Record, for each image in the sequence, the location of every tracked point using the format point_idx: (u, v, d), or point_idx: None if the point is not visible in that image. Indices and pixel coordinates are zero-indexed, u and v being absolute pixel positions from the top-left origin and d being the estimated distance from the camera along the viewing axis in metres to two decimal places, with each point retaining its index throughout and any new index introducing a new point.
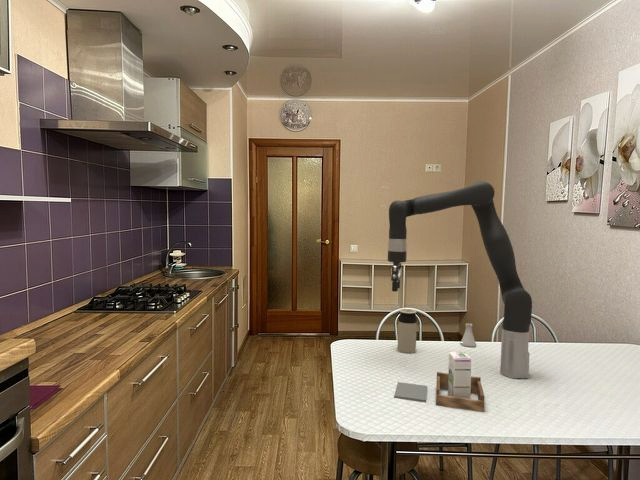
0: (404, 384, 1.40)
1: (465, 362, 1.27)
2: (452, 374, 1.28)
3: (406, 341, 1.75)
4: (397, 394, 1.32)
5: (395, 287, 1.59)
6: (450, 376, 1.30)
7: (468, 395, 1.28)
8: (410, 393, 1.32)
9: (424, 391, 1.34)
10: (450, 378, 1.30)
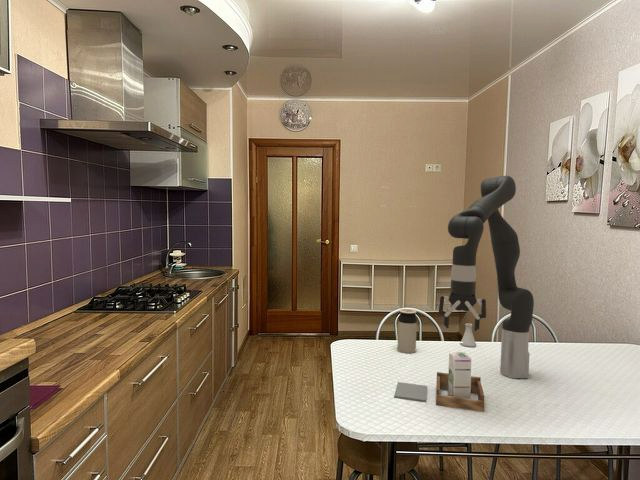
0: (404, 384, 1.40)
1: (465, 362, 1.27)
2: (452, 374, 1.28)
3: (406, 341, 1.75)
4: (397, 394, 1.32)
5: (478, 325, 1.28)
6: (450, 376, 1.30)
7: (468, 395, 1.28)
8: (410, 393, 1.32)
9: (424, 391, 1.34)
10: (450, 378, 1.30)
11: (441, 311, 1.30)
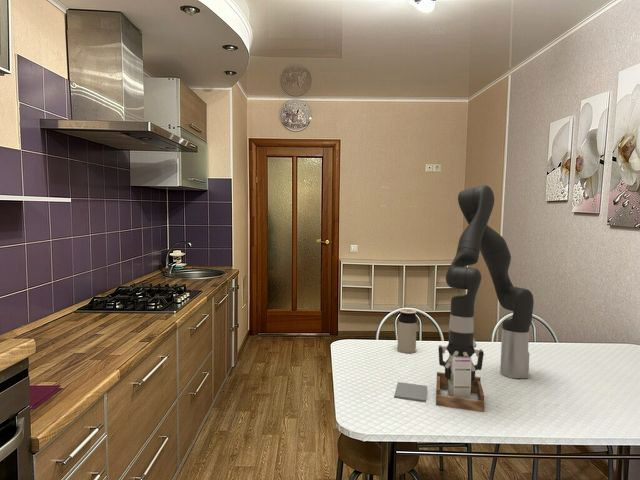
0: (404, 384, 1.40)
1: (465, 362, 1.27)
2: (452, 374, 1.28)
3: (406, 341, 1.75)
4: (397, 394, 1.32)
5: (474, 376, 1.29)
6: (450, 376, 1.30)
7: (468, 395, 1.28)
8: (410, 393, 1.32)
9: (424, 391, 1.34)
10: (450, 378, 1.30)
11: (442, 362, 1.30)
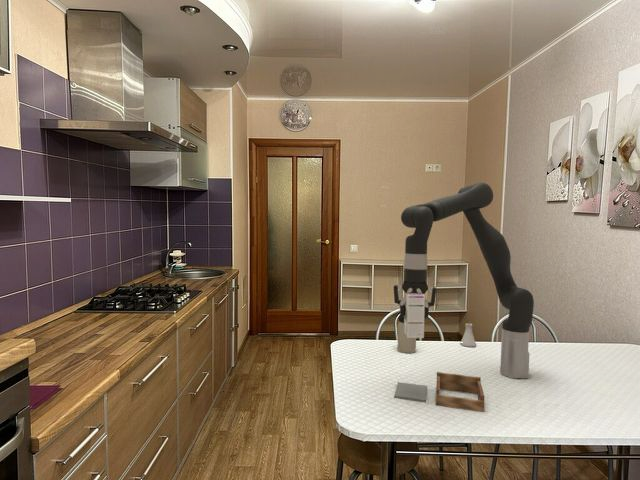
0: (404, 384, 1.40)
1: (418, 298, 1.31)
2: (406, 310, 1.32)
3: (406, 341, 1.75)
4: (397, 394, 1.32)
5: None
6: (405, 313, 1.34)
7: (422, 331, 1.31)
8: (410, 393, 1.32)
9: (424, 391, 1.34)
10: (405, 315, 1.34)
11: (397, 300, 1.34)
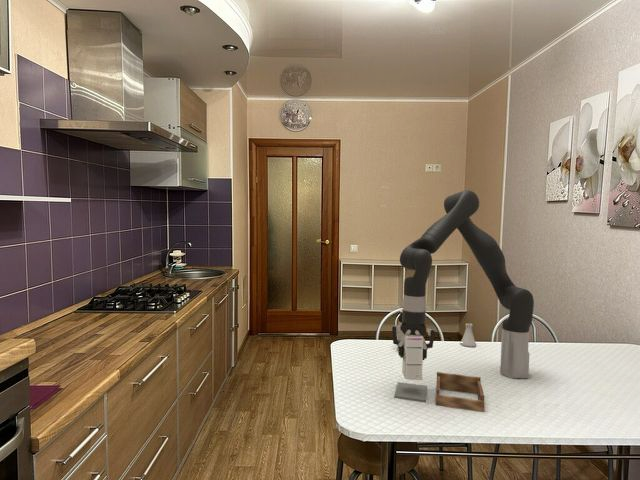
0: (404, 384, 1.40)
1: (417, 340, 1.31)
2: (405, 352, 1.32)
3: None
4: (397, 394, 1.32)
5: (426, 354, 1.33)
6: (403, 354, 1.34)
7: (420, 372, 1.32)
8: (410, 393, 1.32)
9: (424, 391, 1.34)
10: (403, 356, 1.34)
11: (395, 341, 1.35)
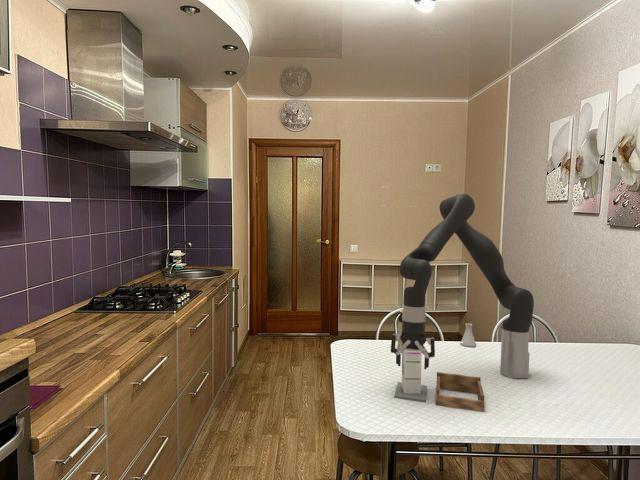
0: None
1: (415, 354, 1.31)
2: (403, 366, 1.33)
3: None
4: (397, 394, 1.32)
5: (428, 363, 1.33)
6: (402, 368, 1.35)
7: (419, 387, 1.32)
8: None
9: (424, 391, 1.34)
10: (402, 370, 1.35)
11: (393, 350, 1.35)
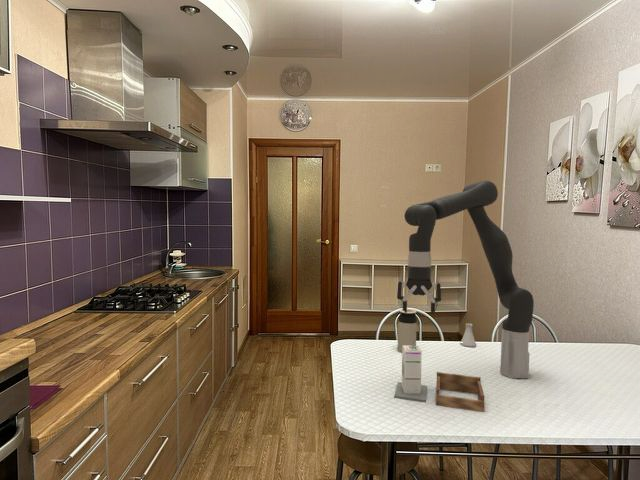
0: None
1: (415, 354, 1.31)
2: (403, 366, 1.33)
3: (406, 341, 1.75)
4: (397, 394, 1.32)
5: None
6: (402, 368, 1.35)
7: (419, 387, 1.32)
8: None
9: (424, 391, 1.34)
10: (402, 370, 1.35)
11: (399, 296, 1.36)
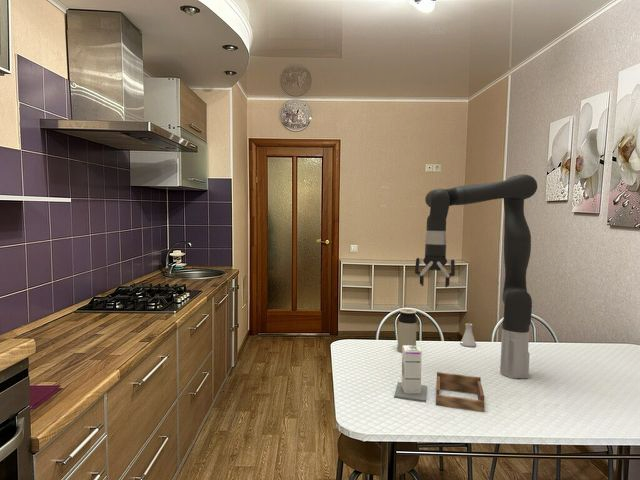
0: None
1: (415, 354, 1.31)
2: (403, 366, 1.33)
3: (406, 341, 1.75)
4: (397, 394, 1.32)
5: None
6: (402, 368, 1.35)
7: (419, 387, 1.32)
8: None
9: (424, 391, 1.34)
10: (402, 370, 1.35)
11: (417, 271, 1.51)
